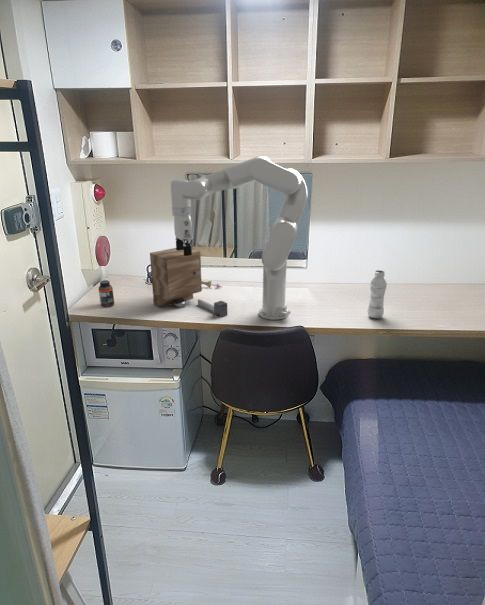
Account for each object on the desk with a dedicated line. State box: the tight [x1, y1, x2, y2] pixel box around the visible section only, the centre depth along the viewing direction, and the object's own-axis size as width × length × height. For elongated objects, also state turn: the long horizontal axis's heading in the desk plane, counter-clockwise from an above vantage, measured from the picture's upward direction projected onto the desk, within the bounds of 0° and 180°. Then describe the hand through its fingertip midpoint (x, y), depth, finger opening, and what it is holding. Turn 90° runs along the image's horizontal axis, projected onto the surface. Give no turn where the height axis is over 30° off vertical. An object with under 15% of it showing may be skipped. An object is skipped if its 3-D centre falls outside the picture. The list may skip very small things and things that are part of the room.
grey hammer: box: [197, 298, 228, 318], centre depth 198 cm, size 18×4×6 cm, turn 40°
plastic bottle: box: [367, 270, 388, 319], centre depth 188 cm, size 6×7×20 cm
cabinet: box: [149, 247, 203, 309], centre depth 202 cm, size 13×18×24 cm
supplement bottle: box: [98, 279, 115, 308], centre depth 203 cm, size 6×6×11 cm
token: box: [173, 299, 187, 309], centre depth 203 cm, size 5×5×2 cm
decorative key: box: [201, 280, 223, 289], centre depth 227 cm, size 7×1×20 cm
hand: (183, 252), depth 190 cm, fingers open, 9 cm apart
